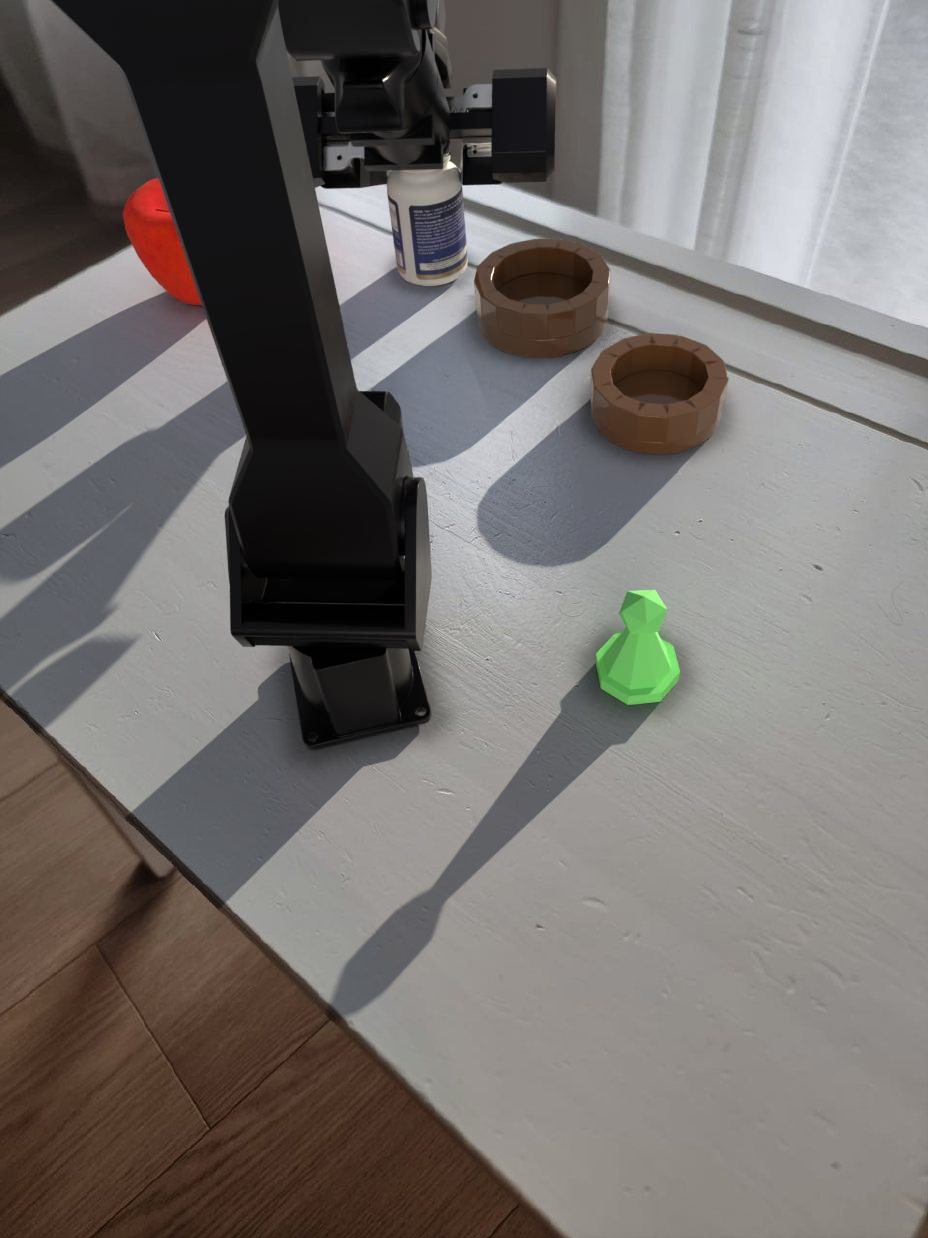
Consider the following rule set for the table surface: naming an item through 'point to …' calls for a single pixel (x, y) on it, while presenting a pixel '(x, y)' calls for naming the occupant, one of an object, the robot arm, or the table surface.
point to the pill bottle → (428, 224)
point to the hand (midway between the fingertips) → (426, 174)
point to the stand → (542, 297)
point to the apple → (159, 241)
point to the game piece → (638, 653)
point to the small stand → (657, 393)
